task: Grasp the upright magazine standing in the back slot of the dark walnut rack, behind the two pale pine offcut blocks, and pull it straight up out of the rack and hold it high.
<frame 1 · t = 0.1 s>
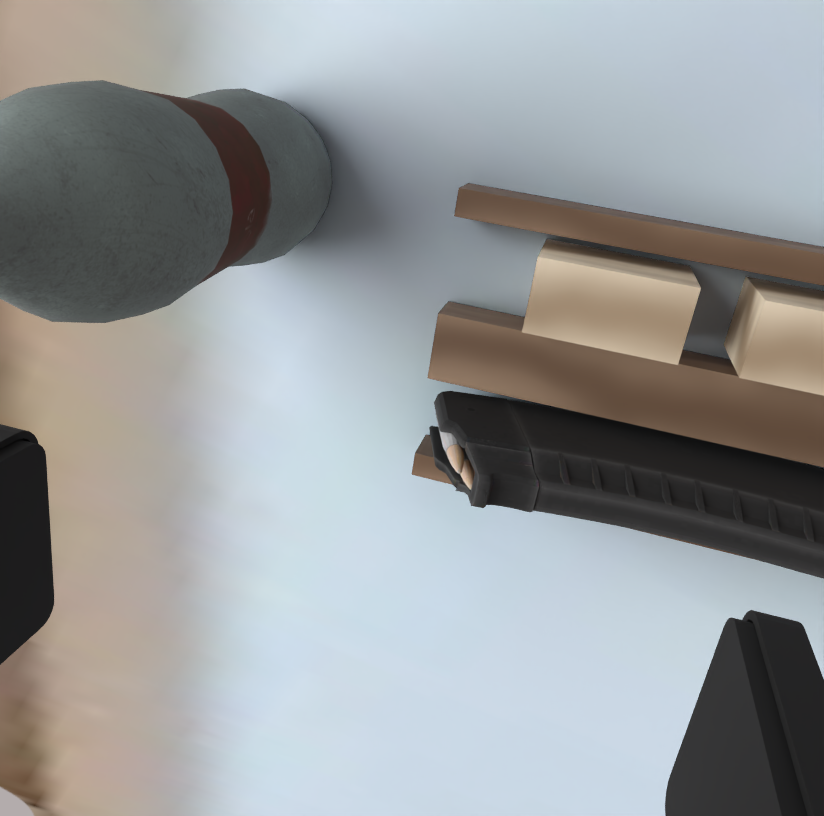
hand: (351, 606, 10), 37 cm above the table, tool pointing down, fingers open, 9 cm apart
bottle: (272, 173, 46), on the table
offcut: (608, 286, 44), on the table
rack: (687, 458, 46), on the table
magazine: (687, 455, 47), on the table
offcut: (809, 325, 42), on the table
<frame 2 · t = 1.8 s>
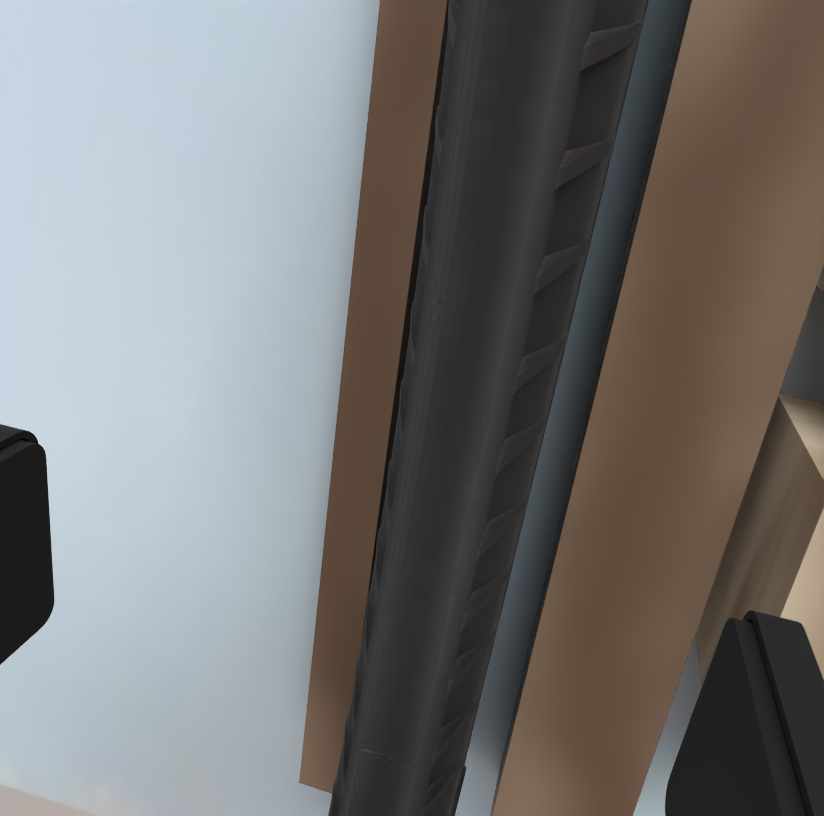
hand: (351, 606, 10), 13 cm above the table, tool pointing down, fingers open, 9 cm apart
rack: (511, 339, 22), on the table
magazine: (511, 339, 22), on the table
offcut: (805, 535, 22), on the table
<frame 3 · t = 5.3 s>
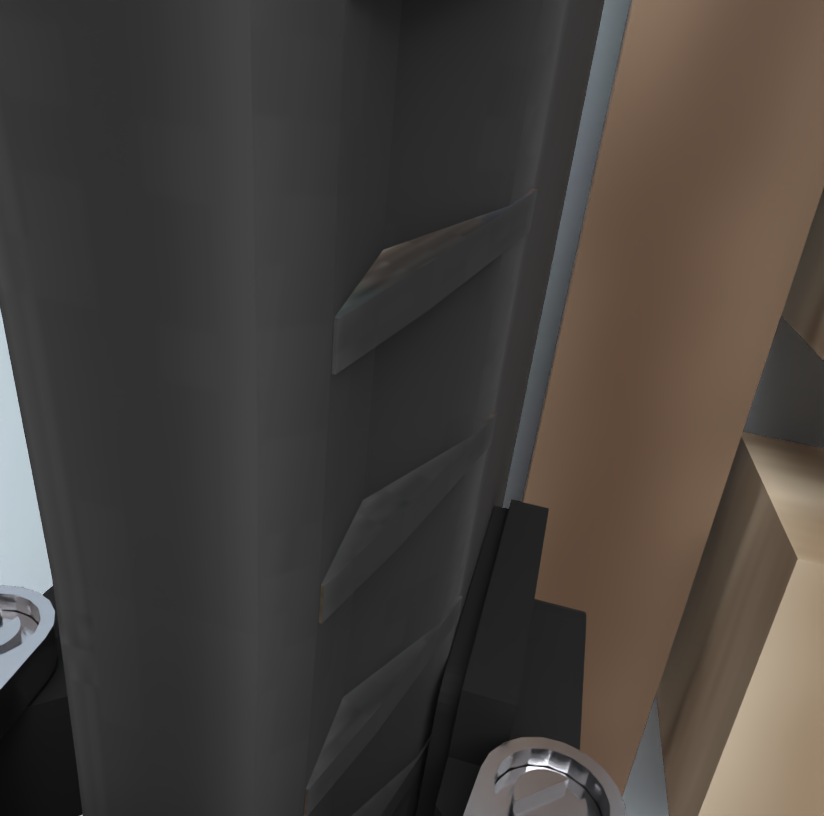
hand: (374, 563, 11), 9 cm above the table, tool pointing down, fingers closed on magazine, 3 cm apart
rack: (449, 372, 20), on the table
magazine: (426, 471, 14), point 6 cm above the table, touching gripper
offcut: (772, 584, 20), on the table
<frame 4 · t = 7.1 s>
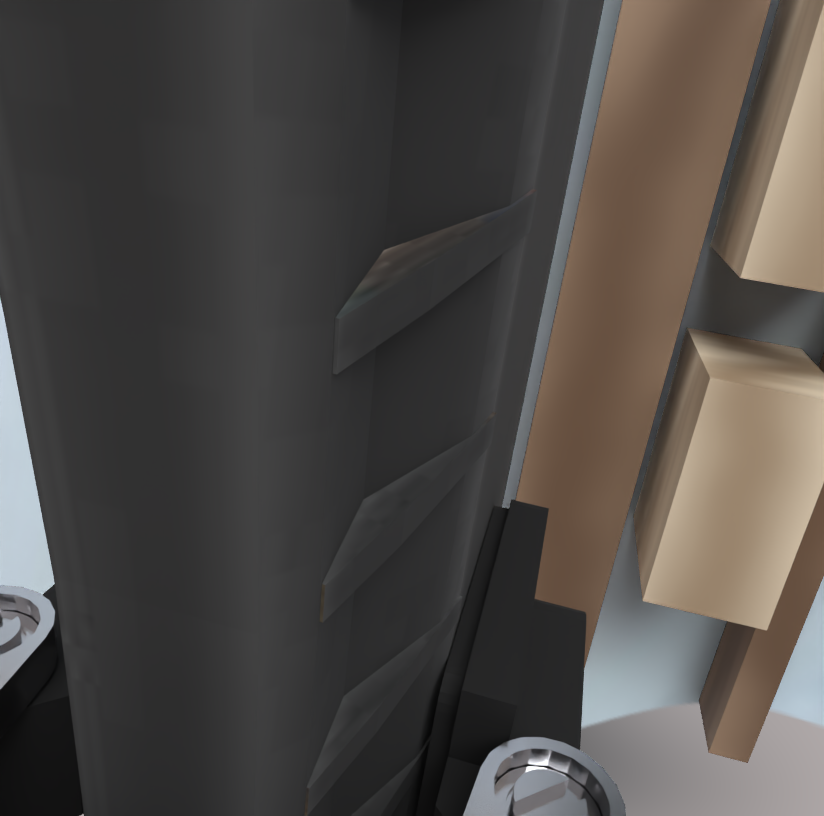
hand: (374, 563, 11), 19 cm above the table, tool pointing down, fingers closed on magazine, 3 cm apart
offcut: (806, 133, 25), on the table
rack: (491, 291, 29), on the table
magazine: (426, 471, 14), point 16 cm above the table, touching gripper
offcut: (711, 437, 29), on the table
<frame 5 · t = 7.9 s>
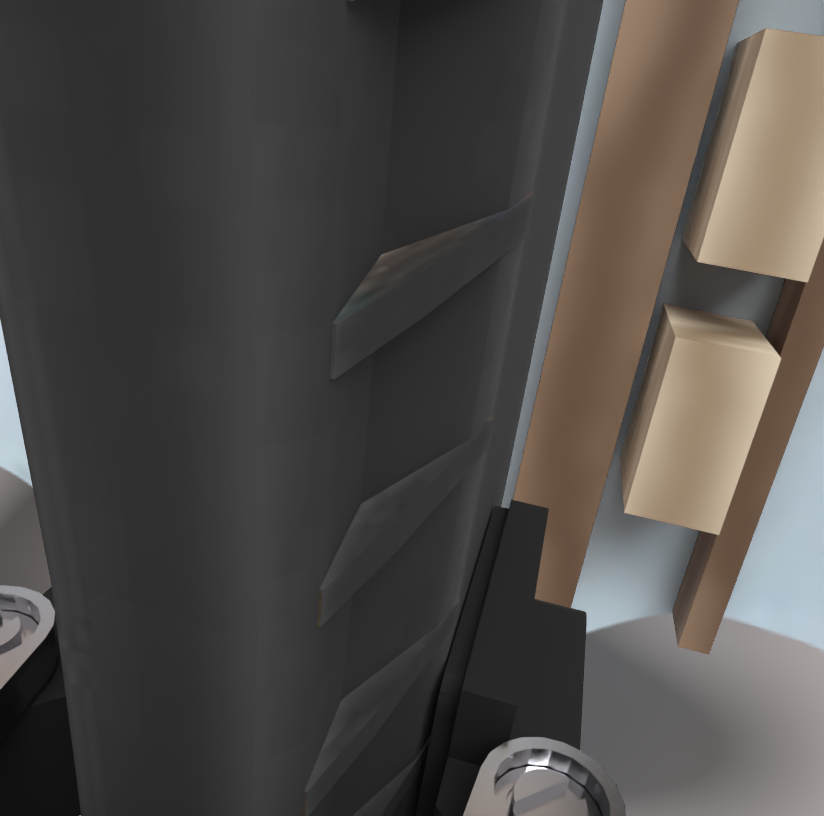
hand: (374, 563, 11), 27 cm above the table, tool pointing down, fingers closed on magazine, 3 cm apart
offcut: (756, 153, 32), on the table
rack: (509, 273, 36), on the table
magazine: (425, 472, 14), point 24 cm above the table, touching gripper
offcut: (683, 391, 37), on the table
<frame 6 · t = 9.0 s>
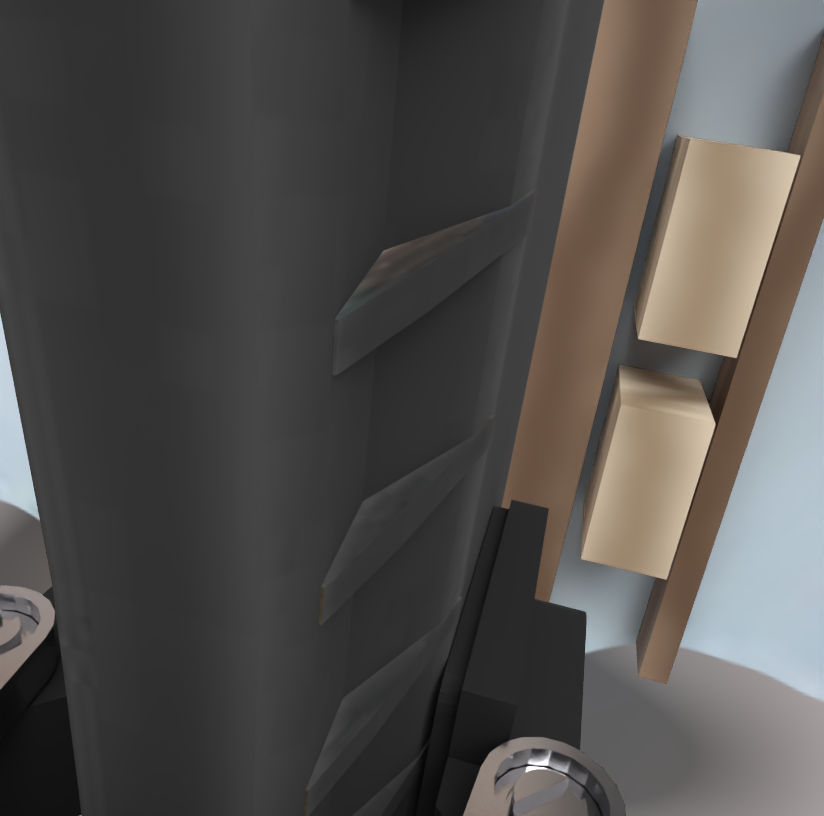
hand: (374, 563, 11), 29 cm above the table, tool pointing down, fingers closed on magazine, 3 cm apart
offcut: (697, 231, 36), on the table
rack: (478, 336, 40), on the table
magazine: (426, 471, 14), point 25 cm above the table, touching gripper
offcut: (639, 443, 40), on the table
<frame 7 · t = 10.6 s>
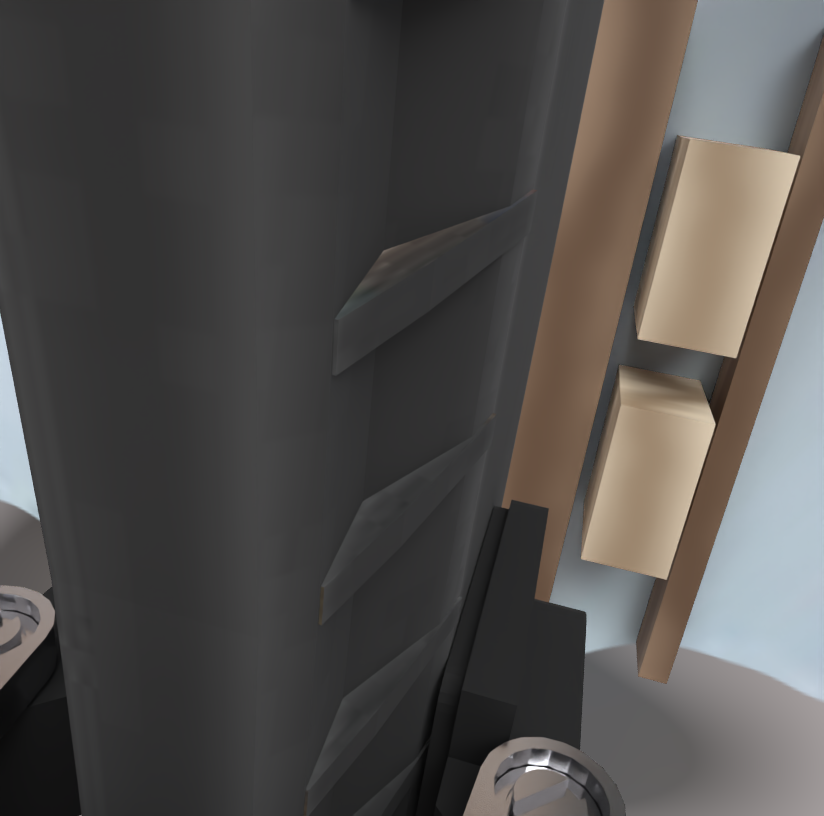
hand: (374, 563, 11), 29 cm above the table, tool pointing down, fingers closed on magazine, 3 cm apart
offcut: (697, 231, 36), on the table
rack: (478, 336, 40), on the table
magazine: (426, 471, 14), point 25 cm above the table, touching gripper
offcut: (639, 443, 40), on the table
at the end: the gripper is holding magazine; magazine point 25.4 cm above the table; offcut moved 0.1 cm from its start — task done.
